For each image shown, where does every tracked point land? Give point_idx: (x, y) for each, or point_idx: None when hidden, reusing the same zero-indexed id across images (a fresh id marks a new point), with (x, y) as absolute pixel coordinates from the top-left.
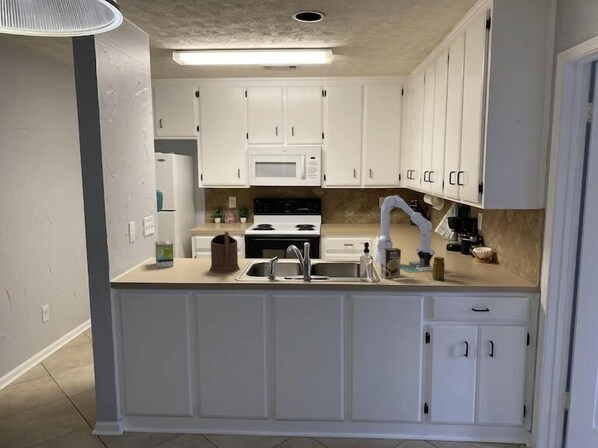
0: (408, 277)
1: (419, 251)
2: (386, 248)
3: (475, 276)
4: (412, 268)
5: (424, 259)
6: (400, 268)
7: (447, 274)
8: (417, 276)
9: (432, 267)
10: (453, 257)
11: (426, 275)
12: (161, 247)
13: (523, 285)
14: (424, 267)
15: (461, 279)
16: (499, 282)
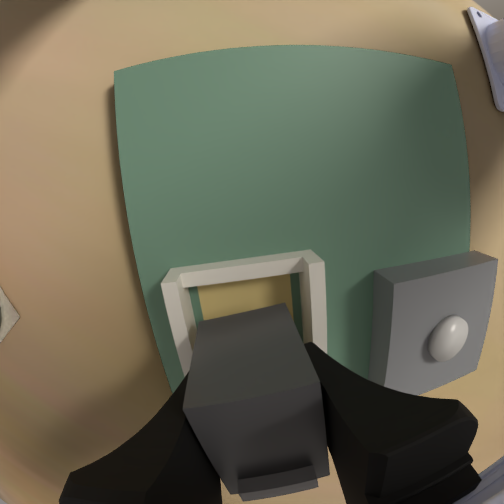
0: (36, 51)
1: (467, 473)
2: None
3: None
4: (340, 211)
5: (190, 418)
6: (367, 65)
7: (107, 437)
8: (38, 146)
9: None
10: None
11: (60, 260)
12: None
13: (4, 498)
14: (172, 327)
15: (3, 420)
16: (12, 486)
